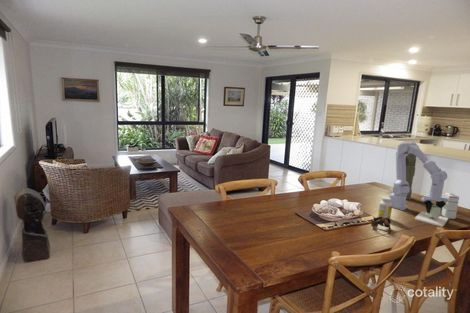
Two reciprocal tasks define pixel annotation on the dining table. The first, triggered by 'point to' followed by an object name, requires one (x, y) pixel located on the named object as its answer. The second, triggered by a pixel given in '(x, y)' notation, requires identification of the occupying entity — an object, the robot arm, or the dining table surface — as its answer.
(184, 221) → the dining table surface
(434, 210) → the collar
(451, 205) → the syrup box
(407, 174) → the thermos
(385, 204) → the supplement bottle
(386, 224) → the brown animal figurine
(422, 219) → the board
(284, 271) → the dining table surface
